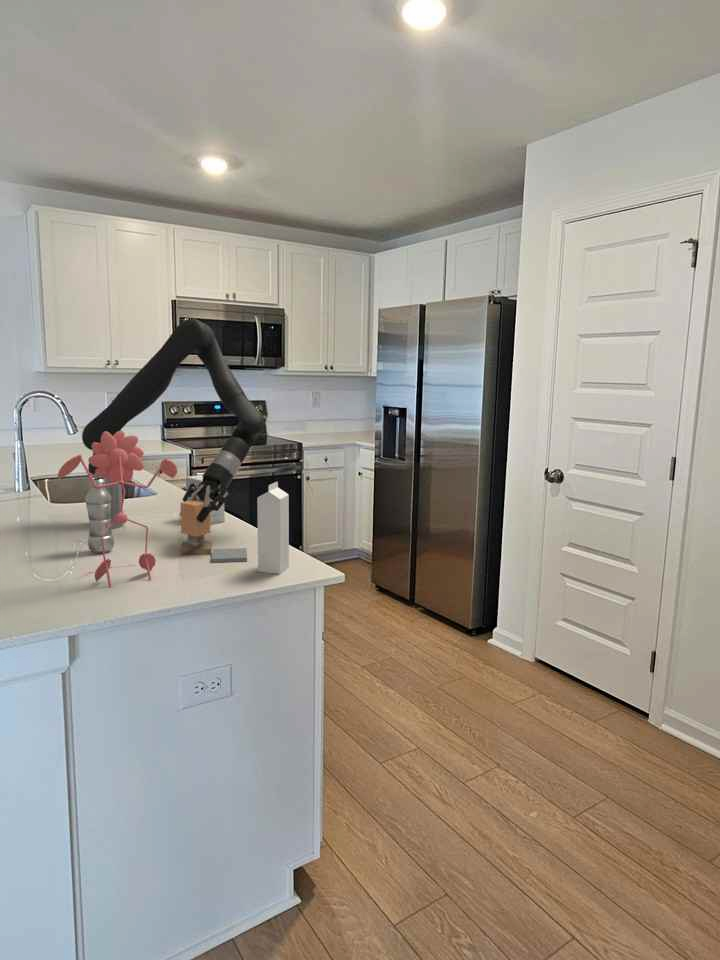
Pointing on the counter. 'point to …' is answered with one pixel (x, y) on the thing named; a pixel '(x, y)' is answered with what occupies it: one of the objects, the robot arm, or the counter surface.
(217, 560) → the mat
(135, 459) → the figurine
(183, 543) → the post stand
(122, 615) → the counter surface
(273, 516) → the milk
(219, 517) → the supplement box
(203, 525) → the tall orange box
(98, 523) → the plastic bottle
